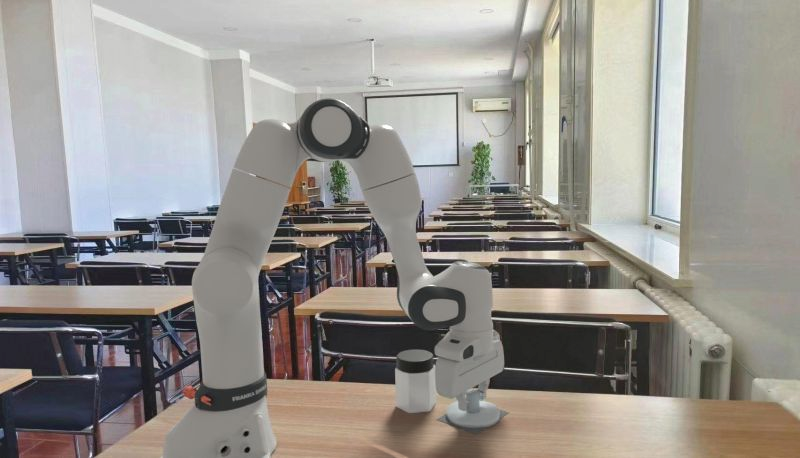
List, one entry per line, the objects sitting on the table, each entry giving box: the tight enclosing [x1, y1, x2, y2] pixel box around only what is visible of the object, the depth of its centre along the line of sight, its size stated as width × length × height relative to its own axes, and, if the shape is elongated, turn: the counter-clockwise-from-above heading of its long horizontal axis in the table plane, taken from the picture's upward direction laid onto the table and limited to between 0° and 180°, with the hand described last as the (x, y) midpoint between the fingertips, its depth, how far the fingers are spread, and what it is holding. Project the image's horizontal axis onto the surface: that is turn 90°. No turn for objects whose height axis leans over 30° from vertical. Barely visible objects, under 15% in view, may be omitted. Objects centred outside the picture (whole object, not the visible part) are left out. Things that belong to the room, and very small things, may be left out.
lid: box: [445, 388, 500, 428], centre depth 110 cm, size 11×11×5 cm
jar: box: [394, 349, 437, 414], centre depth 116 cm, size 9×8×12 cm
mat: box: [436, 409, 510, 435], centre depth 110 cm, size 12×10×1 cm
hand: (472, 404), depth 110 cm, fingers open, 5 cm apart
